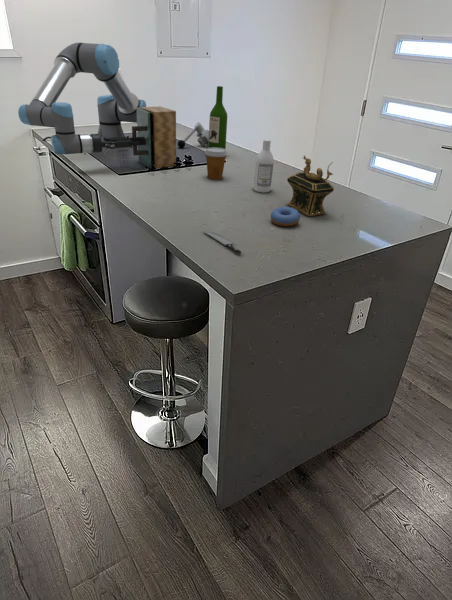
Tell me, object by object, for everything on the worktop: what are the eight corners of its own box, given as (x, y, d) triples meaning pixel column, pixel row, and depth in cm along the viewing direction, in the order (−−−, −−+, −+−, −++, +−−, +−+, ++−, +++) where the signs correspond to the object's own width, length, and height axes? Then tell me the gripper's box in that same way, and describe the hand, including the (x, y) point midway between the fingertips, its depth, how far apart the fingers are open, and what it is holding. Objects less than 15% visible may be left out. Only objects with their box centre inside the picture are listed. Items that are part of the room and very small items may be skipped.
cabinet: (155, 168, 198) (153, 112, 185) (141, 161, 207) (138, 107, 195) (176, 165, 204) (175, 111, 191) (161, 159, 213) (160, 106, 201)
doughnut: (279, 229, 143) (280, 216, 140) (264, 219, 150) (266, 206, 148) (304, 226, 146) (306, 213, 144) (289, 216, 154) (291, 204, 152)
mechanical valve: (218, 142, 240) (202, 120, 230) (197, 165, 239) (180, 145, 229) (209, 140, 248) (194, 119, 238) (189, 162, 247) (172, 142, 237)
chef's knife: (211, 231, 138) (203, 232, 137) (211, 228, 138) (203, 229, 136) (247, 253, 125) (238, 255, 124) (247, 250, 125) (239, 251, 123)
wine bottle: (205, 155, 224) (207, 86, 207) (212, 152, 232) (215, 85, 215) (221, 158, 222) (224, 88, 205) (227, 154, 229) (231, 86, 212)
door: (136, 169, 193) (133, 112, 181) (125, 162, 204) (122, 107, 191) (151, 168, 197) (149, 112, 184) (140, 161, 207) (138, 107, 195)
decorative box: (282, 203, 165) (289, 150, 155) (302, 201, 169) (310, 149, 159) (314, 222, 151) (324, 164, 140) (336, 218, 155) (347, 162, 144)
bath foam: (273, 192, 177) (279, 141, 167) (258, 193, 175) (263, 142, 164) (265, 187, 183) (270, 137, 172) (250, 188, 180) (255, 138, 169)
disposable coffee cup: (229, 176, 193) (230, 149, 186) (219, 182, 185) (221, 153, 179) (210, 173, 196) (211, 146, 190) (200, 178, 188) (201, 149, 182)
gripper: (88, 148, 189) (140, 145, 199) (95, 156, 178) (150, 153, 188) (86, 130, 185) (139, 128, 195) (94, 137, 174) (150, 135, 184)
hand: (144, 140), depth 192 cm, fingers closed on door, 2 cm apart
